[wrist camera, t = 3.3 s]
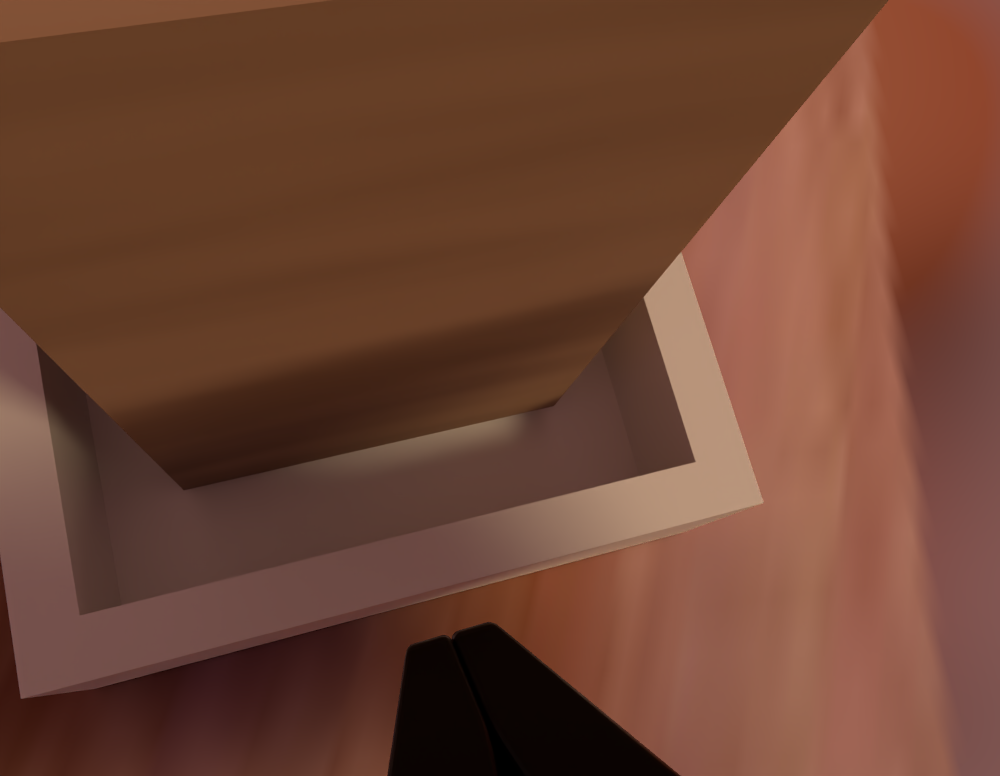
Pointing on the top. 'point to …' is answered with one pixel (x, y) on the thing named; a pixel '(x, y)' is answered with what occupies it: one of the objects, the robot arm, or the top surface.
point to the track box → (344, 507)
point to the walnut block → (366, 199)
